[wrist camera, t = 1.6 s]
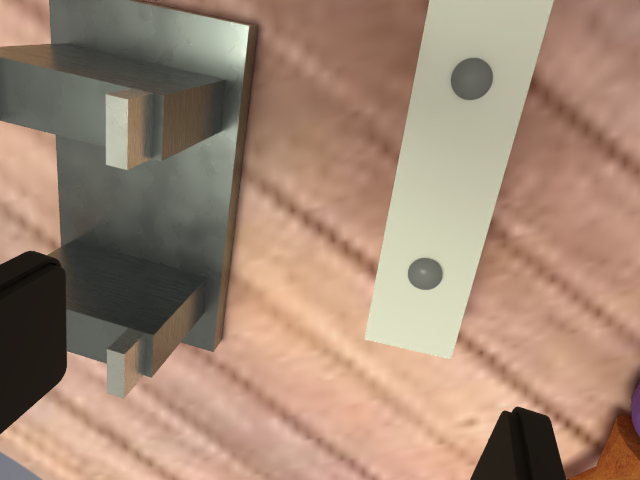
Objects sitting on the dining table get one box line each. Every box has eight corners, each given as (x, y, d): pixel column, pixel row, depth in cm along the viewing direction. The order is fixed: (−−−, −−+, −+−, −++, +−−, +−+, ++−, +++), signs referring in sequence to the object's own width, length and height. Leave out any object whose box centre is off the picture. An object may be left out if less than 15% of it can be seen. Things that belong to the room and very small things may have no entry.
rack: (66, -15, 30) (-109, -32, 20) (258, 25, 28) (165, 27, 19) (77, 297, 39) (-39, 384, 30) (221, 340, 38) (147, 446, 28)
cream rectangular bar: (440, -42, 25) (440, -56, 21) (543, -30, 24) (567, -42, 20) (374, 296, 34) (363, 341, 29) (449, 313, 33) (450, 361, 28)
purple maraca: (458, 546, 35) (703, 384, 25) (471, 483, 40) (679, 326, 30) (529, 606, 34) (813, 464, 24) (534, 534, 40) (769, 391, 29)
